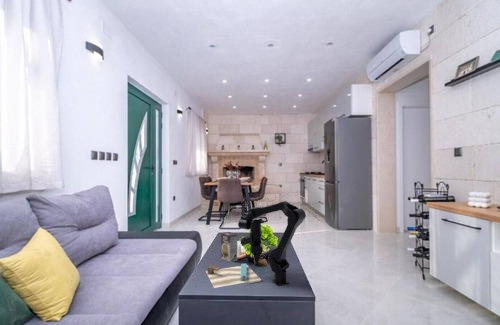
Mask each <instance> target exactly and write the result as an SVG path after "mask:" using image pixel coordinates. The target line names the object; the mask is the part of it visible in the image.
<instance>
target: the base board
mask: <svg viewBox="0 0 500 325" xmlns="http://www.w3.org/2000/svg"><path fill="white" fill-rule="evenodd" d="M205 273H206V275H207V276H208V279H209V281H210V283H211V285H212V287H213V289H215V288H221V287H222V288H223V287H228V286H233V285H239V284H245V283H246V284H247V285H249V284H254V283H258V282H262V279H261V278H260V277H259V275H257V273H255V272H254V271H253V270H252V268H251V267H250V266H249V265H248V264H247V280H245V281H242V280H241V278H240V277H241V265H240V266H239V265H238V266H231V267H225V268H220V269H219V270H218V271H214V273H212V274H211V275H210V274H208V270H205Z"/></svg>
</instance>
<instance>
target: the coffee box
mask: <svg viewBox="0 0 500 325" xmlns="http://www.w3.org/2000/svg"><path fill="white" fill-rule="evenodd" d="M220 237H221V238H220V242H221V244H220V245H221V247H220V248H221V251H220V252H221V255H220V256H221V260H224V261H227V262H236V261H238V234H237V233H233V232H230V231H227V232H221V236H220Z"/></svg>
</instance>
